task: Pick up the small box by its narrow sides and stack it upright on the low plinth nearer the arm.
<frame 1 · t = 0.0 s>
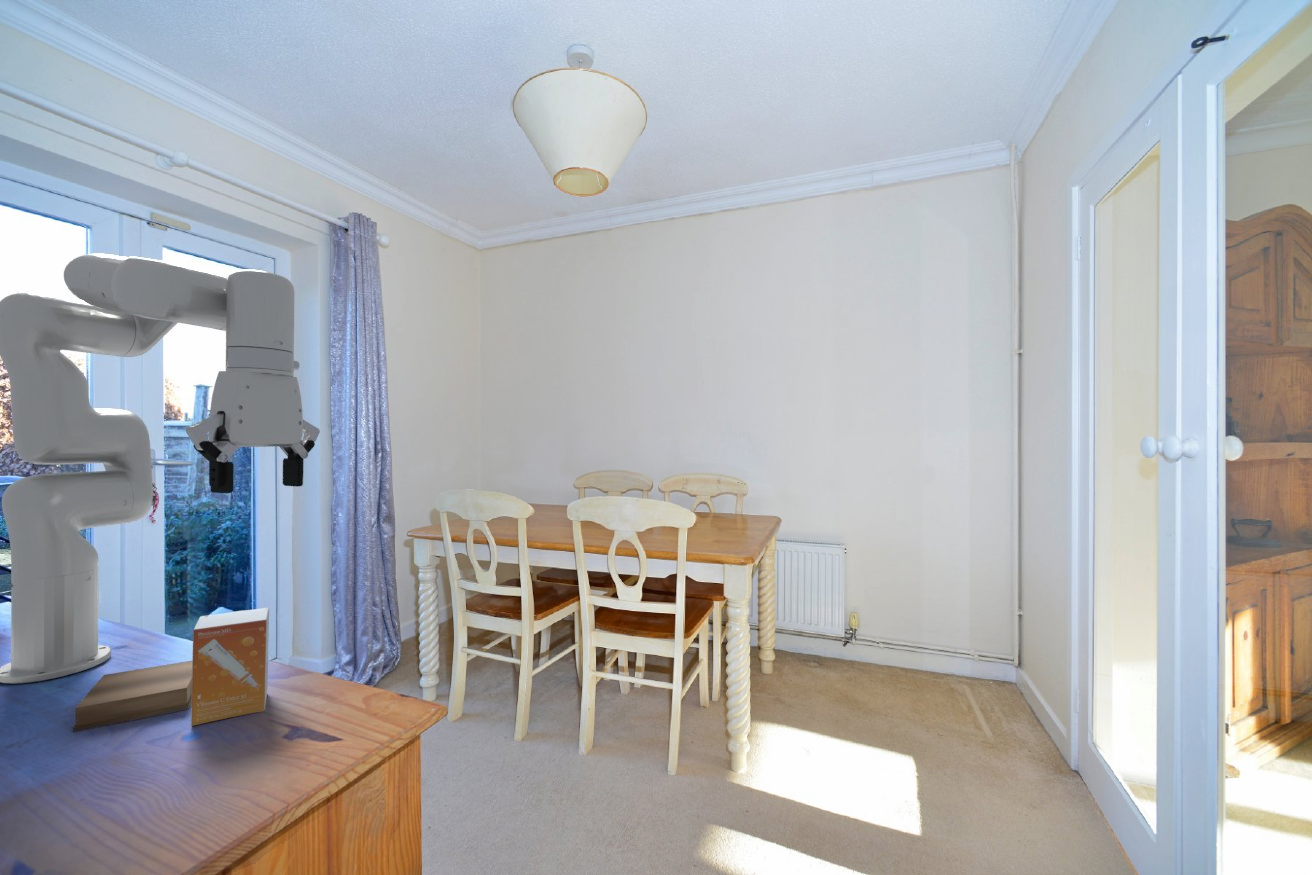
hand: (259, 489, 74), 31 cm above the table, tool pointing down, fingers open, 9 cm apart
plinth: (144, 701, 77), on the table
small box: (231, 710, 76), on the table
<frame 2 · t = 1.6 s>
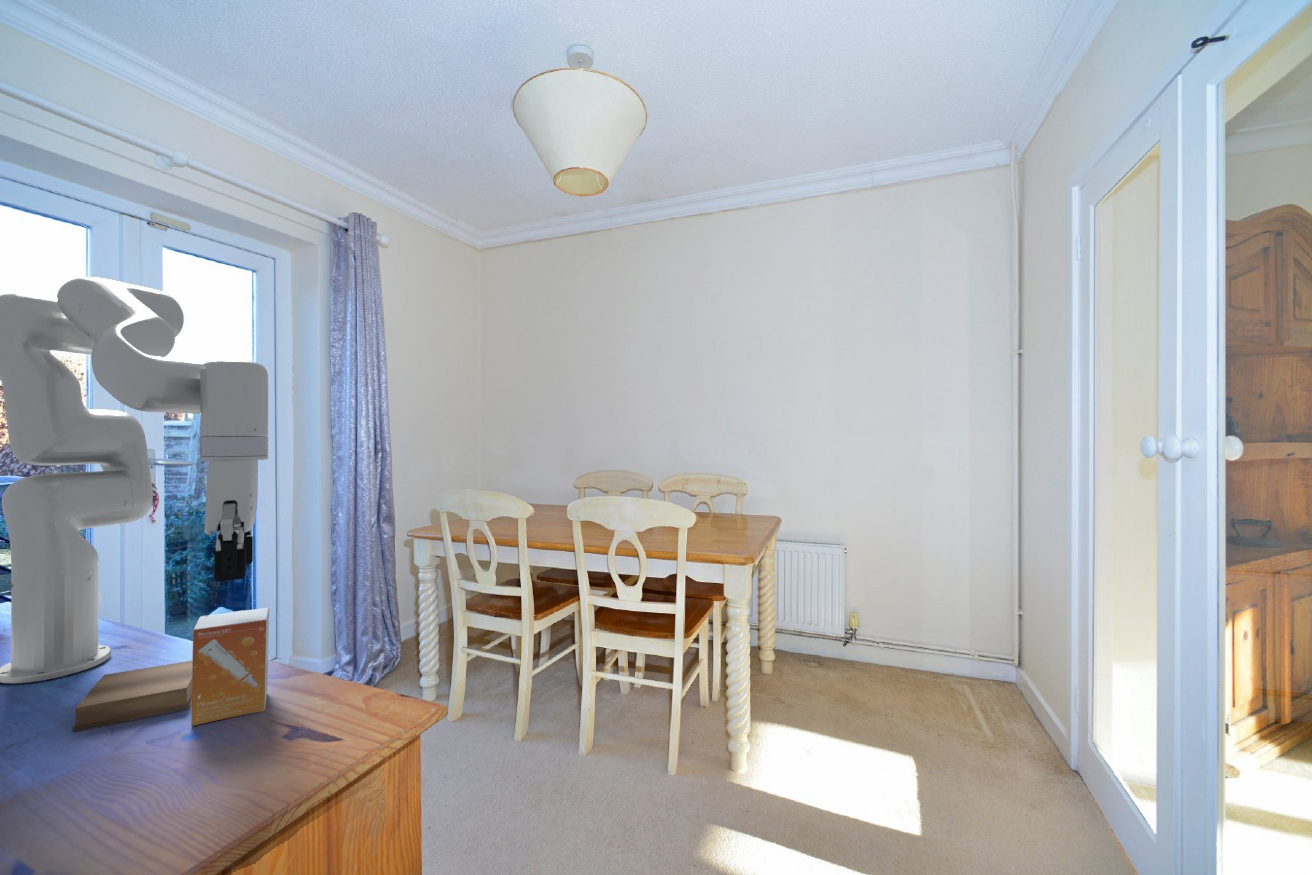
hand: (234, 571, 75), 19 cm above the table, tool pointing down, fingers open, 9 cm apart
nothing on the table moved.
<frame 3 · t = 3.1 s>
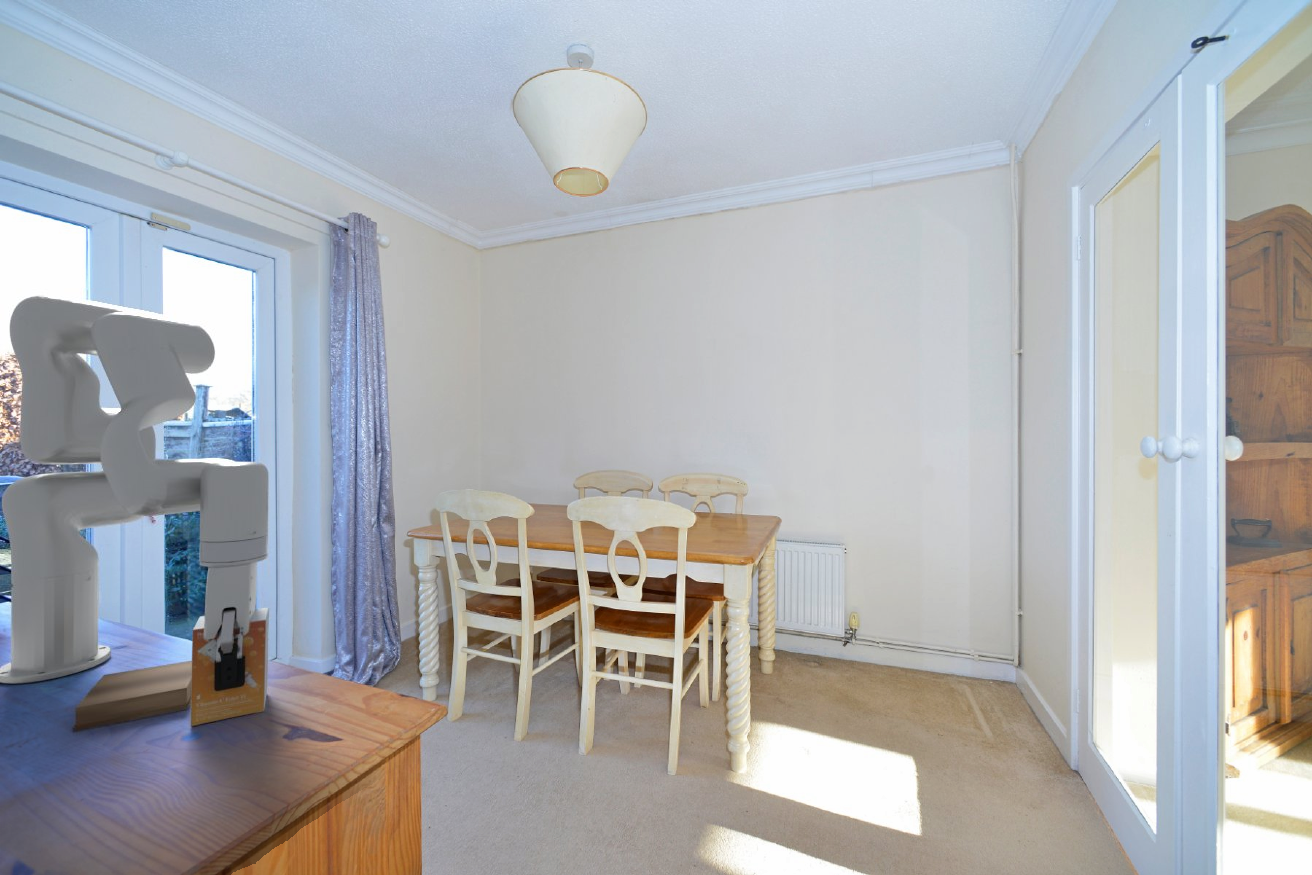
hand: (233, 675, 76), 5 cm above the table, tool pointing down, fingers open, 6 cm apart
small box: (231, 710, 76), on the table, touching gripper
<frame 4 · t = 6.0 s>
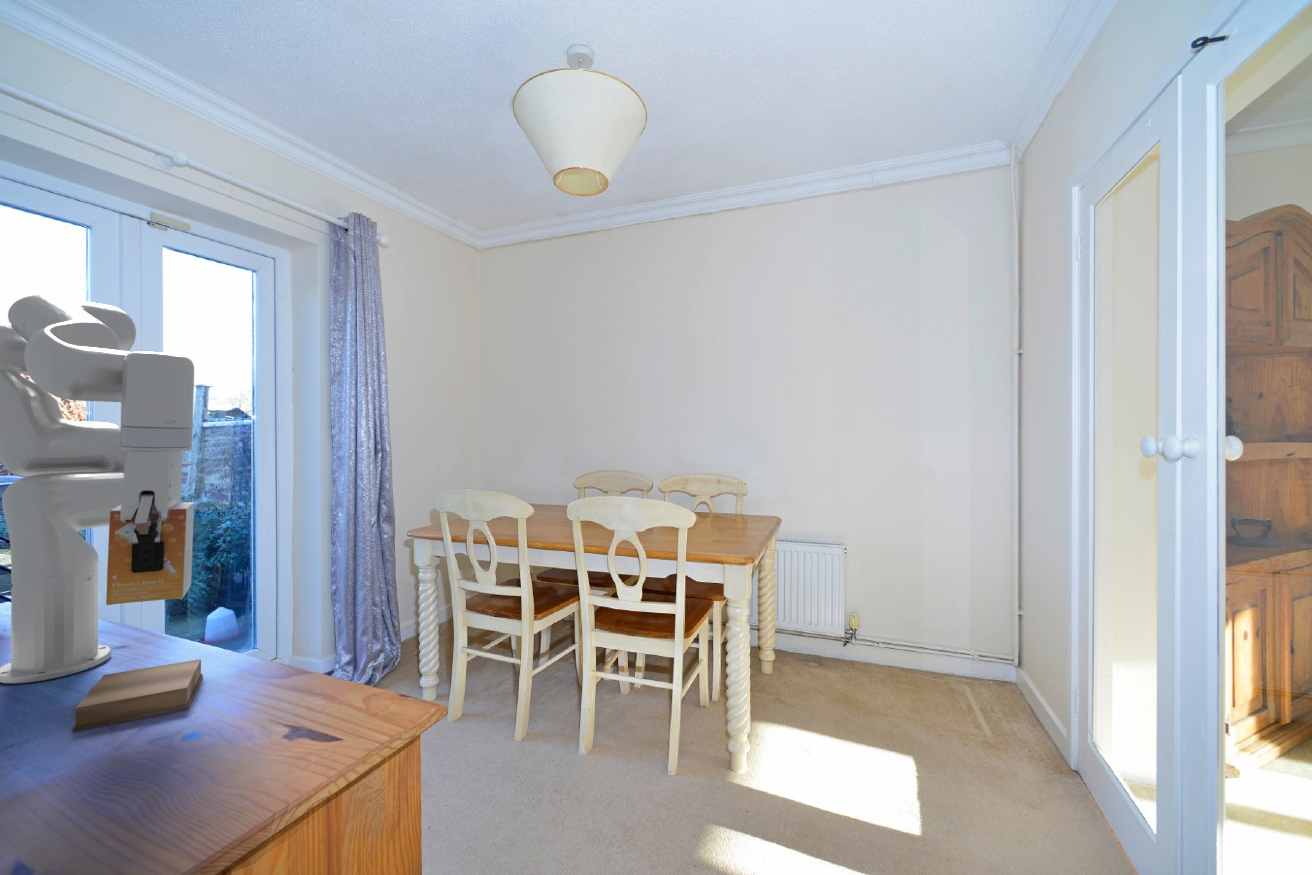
hand: (153, 563, 77), 20 cm above the table, tool pointing down, fingers closed on small box, 6 cm apart
small box: (151, 597, 77), point 15 cm above the table, touching gripper
when the fingers open (9 cm above the table, at t = 8.9 s): small box drops 1 cm, resting on plinth.
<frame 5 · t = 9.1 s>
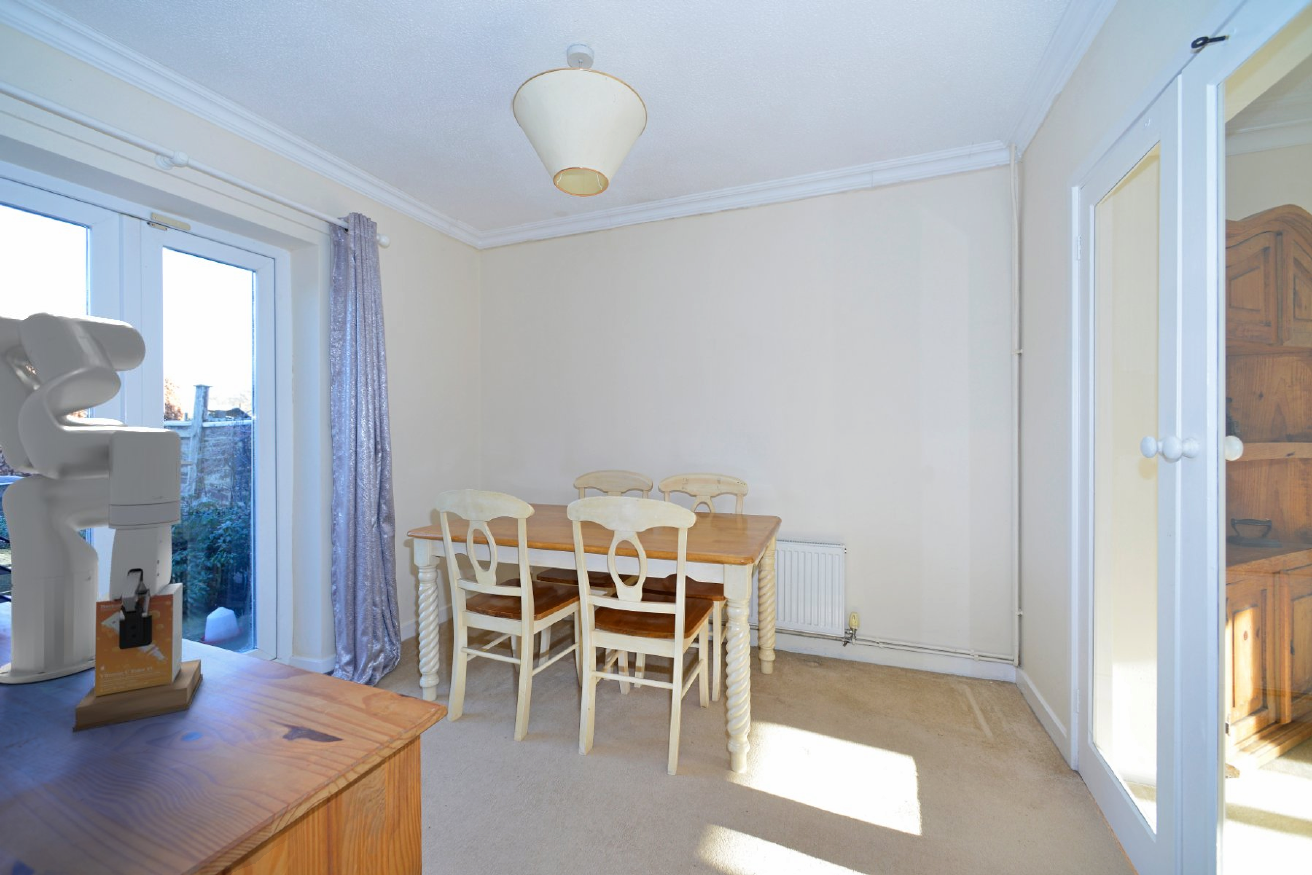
hand: (144, 635, 77), 10 cm above the table, tool pointing down, fingers open, 8 cm apart
small box: (140, 683, 77), point 3 cm above the table, touching plinth
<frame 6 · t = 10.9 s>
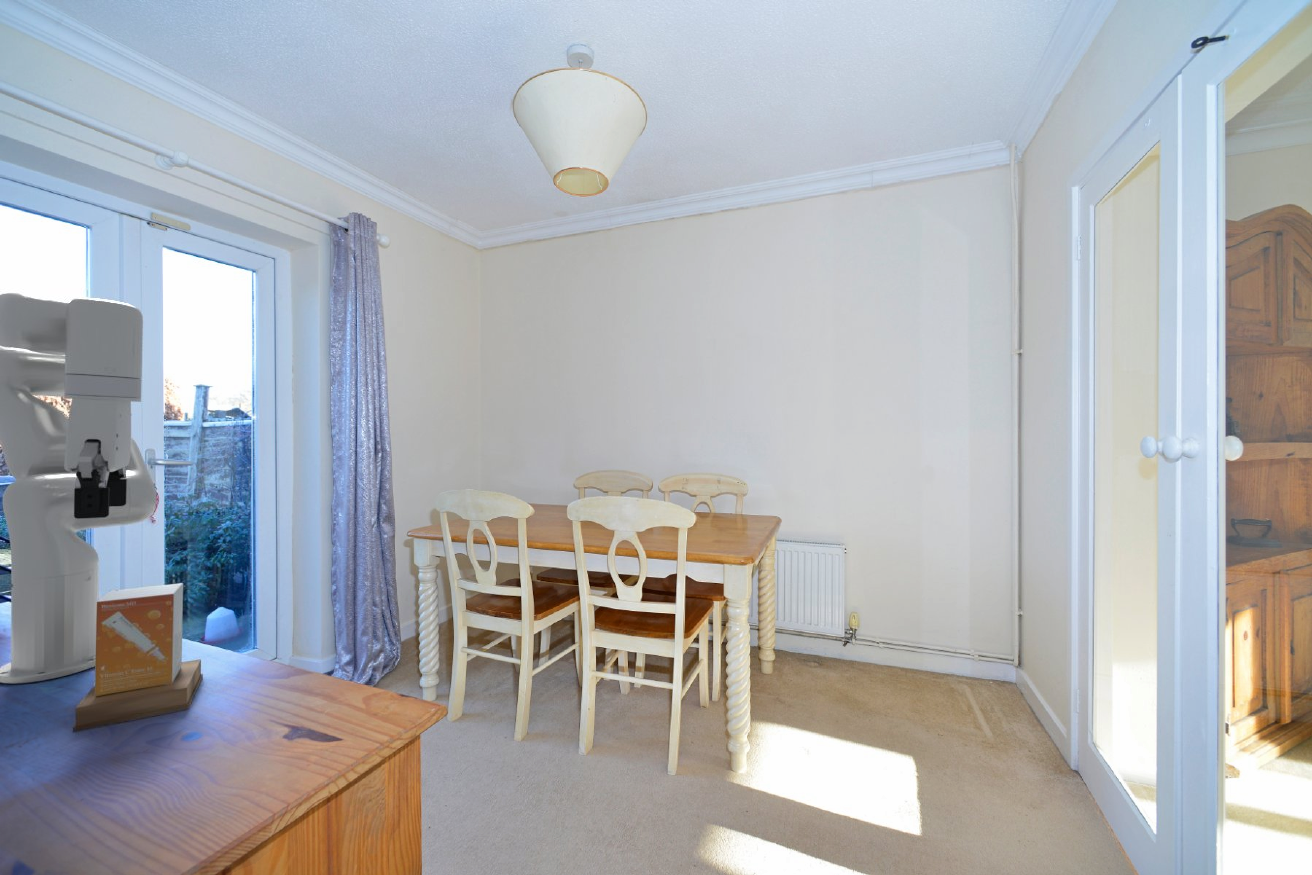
hand: (101, 511, 76), 27 cm above the table, tool pointing down, fingers open, 9 cm apart
nothing on the table moved.
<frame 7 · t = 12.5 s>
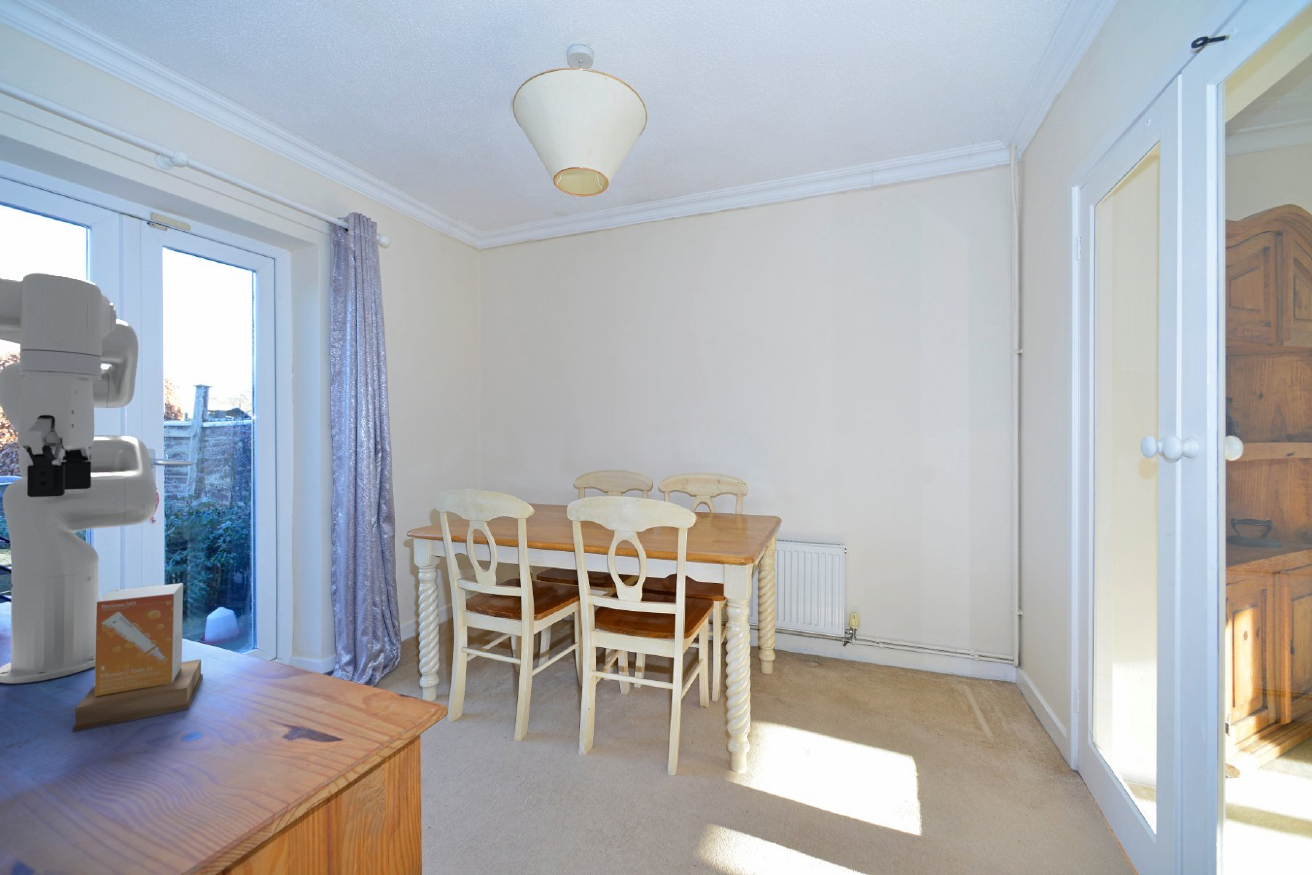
hand: (61, 492, 74), 30 cm above the table, tool pointing down, fingers open, 9 cm apart
nothing on the table moved.
at the end: small box inside the target area on the plinth (0.4 cm from its centre), point 2.8 cm above the plinth's base; small box tilted 0°; the gripper is holding nothing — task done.
